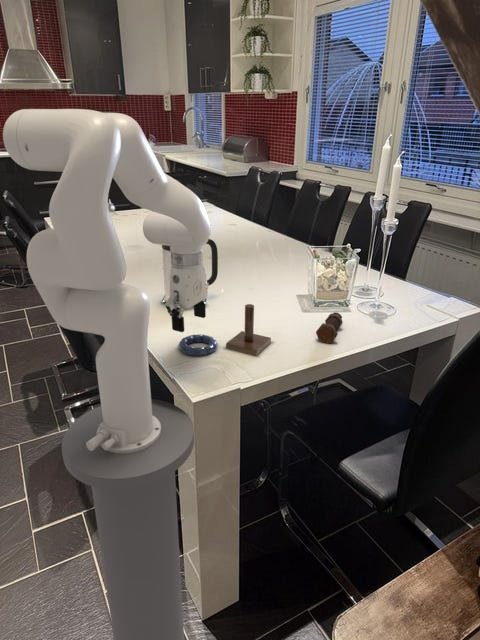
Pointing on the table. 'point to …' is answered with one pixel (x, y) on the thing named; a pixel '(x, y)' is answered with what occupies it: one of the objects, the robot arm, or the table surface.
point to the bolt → (329, 328)
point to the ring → (198, 351)
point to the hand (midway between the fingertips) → (189, 323)
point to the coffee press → (168, 265)
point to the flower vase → (111, 207)
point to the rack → (248, 336)
